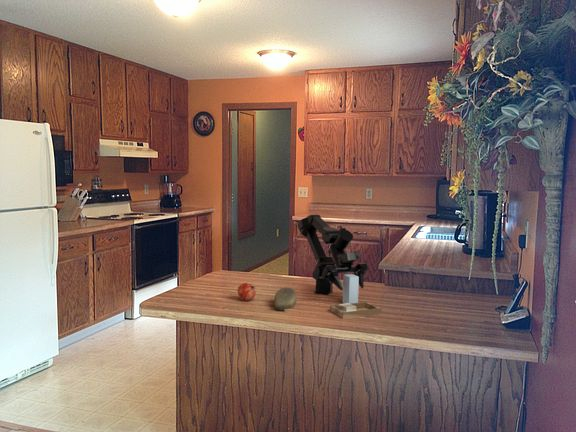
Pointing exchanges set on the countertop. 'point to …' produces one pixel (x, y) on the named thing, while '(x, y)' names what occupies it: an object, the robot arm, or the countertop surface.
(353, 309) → the offcut upper
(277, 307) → the stone
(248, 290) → the pomegranate
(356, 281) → the pale blue rectangular block
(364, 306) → the wooden tray
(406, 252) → the countertop surface
